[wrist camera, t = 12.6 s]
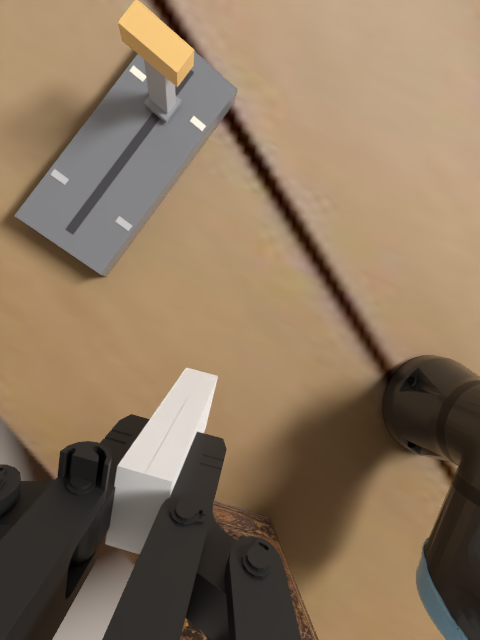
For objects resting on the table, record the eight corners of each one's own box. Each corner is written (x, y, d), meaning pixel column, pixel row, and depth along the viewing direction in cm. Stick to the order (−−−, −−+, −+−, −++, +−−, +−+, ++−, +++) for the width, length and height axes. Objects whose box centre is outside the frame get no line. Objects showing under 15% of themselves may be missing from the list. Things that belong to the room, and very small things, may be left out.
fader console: (106, 276, 41) (100, 274, 38) (26, 222, 39) (13, 215, 36) (233, 103, 43) (237, 88, 40) (163, 42, 41) (161, 21, 38)
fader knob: (177, 131, 38) (175, 74, 29) (133, 96, 37) (116, 24, 27) (191, 111, 39) (195, 48, 29) (148, 75, 37) (137, -4, 28)
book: (276, 519, 48) (378, 755, 23) (261, 554, 48) (347, 828, 23) (170, 486, 44) (158, 718, 20) (154, 523, 44) (122, 802, 20)
